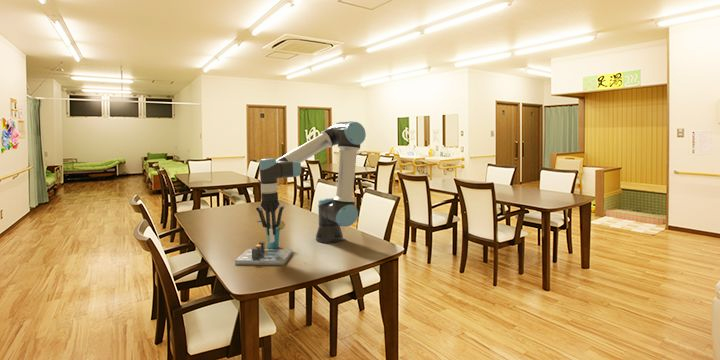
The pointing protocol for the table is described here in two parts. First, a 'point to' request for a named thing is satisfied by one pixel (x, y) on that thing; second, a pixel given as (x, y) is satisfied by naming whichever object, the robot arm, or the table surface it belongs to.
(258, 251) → the block
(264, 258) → the panel
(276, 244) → the cup
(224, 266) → the table surface
